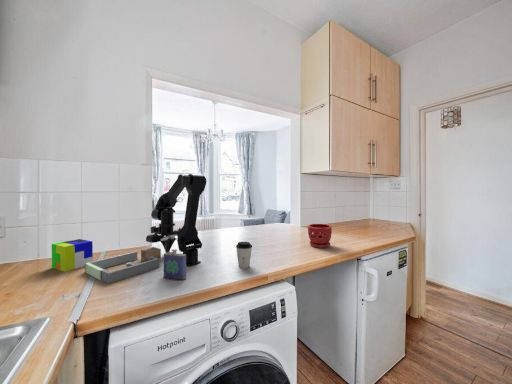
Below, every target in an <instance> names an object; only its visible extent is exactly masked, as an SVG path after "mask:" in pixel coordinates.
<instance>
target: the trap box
mask: <svg viewBox="0 0 512 384" xmlns="http://www.w3.org/2000/svg"><path fill="white" fill-rule="evenodd" d="M136 260H138V251H132V252H128V253H123V254H119V255H115V256H111V257H106V258H102V259H101V258H100V259H98V260H93V262H88V263H85V266H84V273H86V274H88V275H89V276H92V277H94V278H95V279H96V280H99V281H102V282H104V283H106V284H112V283H115V282H118V281H120V280H121V281H122V280H125V279H126V278H130V277H133V276H135V275H140V274H142V273H146V272H149V271H152V270H155V269H158V268H160V267H161V266H160V265H161V264H160V263H161V261H160V260H161V259H159V258H155V257H153V256H151V257H149V261H147V262H144V261H142V262H140V263H134V262H133V261H136ZM120 264H125V267H122V268H119V269H115V270H111V271H109V270H107V269H106V268H110V267H114V266H116V265H120Z"/></svg>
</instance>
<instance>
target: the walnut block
mask: <svg viewBox="0 0 512 384" xmlns="http://www.w3.org/2000/svg"><path fill="white" fill-rule="evenodd" d="M161 252H162V249H161V248H158V247H154V246H153V247H148V248H147V247H146V248H143V249H140V261H141V262H147V261H149V257H151V256H153V257H155V258H159V259H160V260H161V257H162V253H161Z"/></svg>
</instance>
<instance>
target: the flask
mask: <svg viewBox="0 0 512 384" xmlns="http://www.w3.org/2000/svg"><path fill="white" fill-rule="evenodd" d="M177 251H178V249H175V248H174V249H171V251H169V252H167V253H166V252H165V253H163V279H165V280H173V281H184V280H186V279H187V266H186V254H183V253H177Z"/></svg>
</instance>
